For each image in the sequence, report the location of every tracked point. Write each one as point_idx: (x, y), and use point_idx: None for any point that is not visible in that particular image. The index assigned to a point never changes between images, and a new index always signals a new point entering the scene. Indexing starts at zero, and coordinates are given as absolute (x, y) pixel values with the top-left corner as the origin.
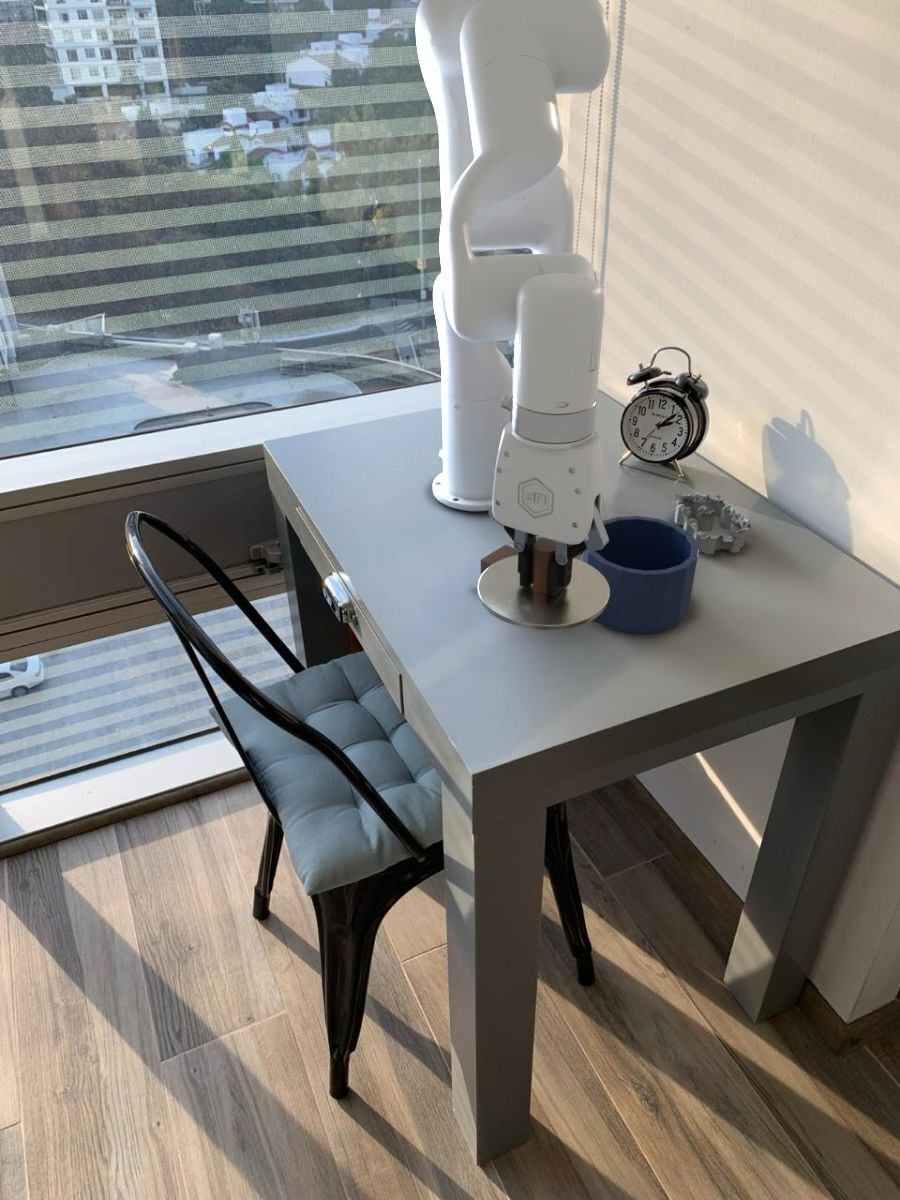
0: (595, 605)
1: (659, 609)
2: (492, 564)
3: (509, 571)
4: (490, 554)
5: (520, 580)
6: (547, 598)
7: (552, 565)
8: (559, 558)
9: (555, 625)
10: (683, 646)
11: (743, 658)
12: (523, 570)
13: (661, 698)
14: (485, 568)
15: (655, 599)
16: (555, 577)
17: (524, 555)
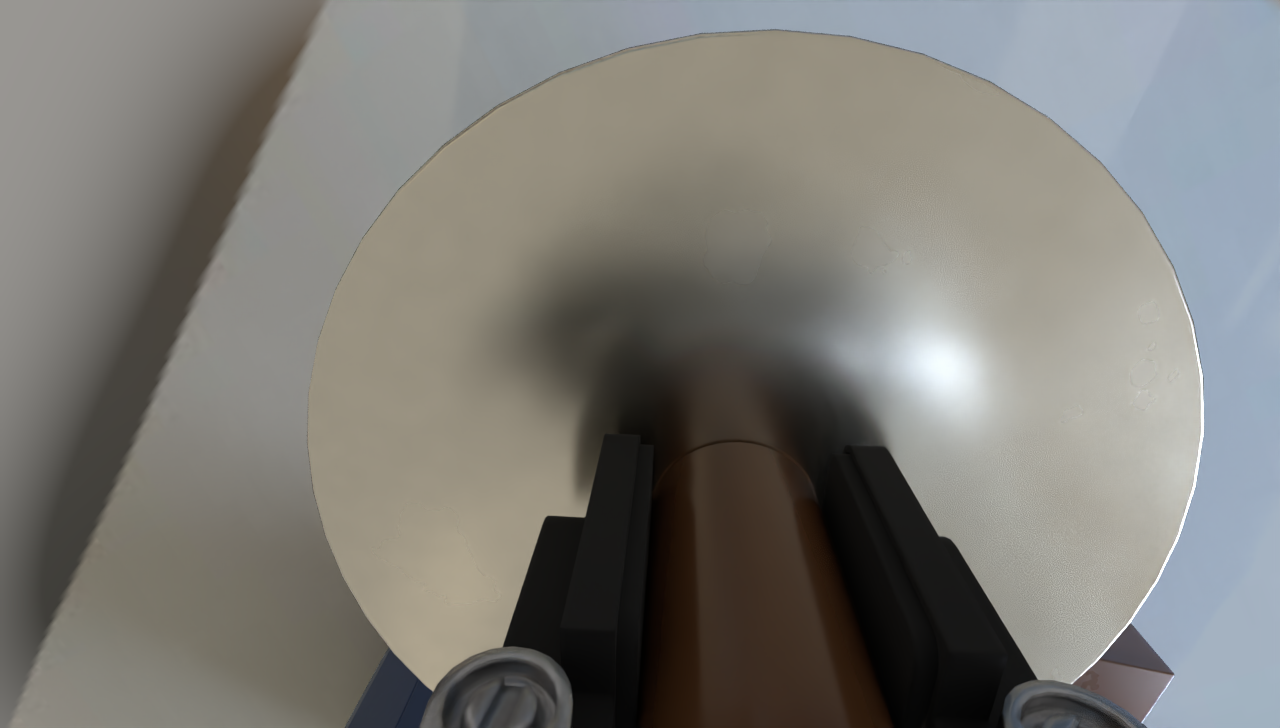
0: (358, 480)
1: (381, 674)
2: (1105, 663)
3: (1012, 568)
4: (1139, 719)
5: (890, 465)
6: (651, 414)
7: (604, 615)
8: (520, 711)
9: (444, 147)
10: (322, 576)
11: (160, 597)
12: (898, 524)
13: (232, 314)
14: (1122, 639)
15: (376, 706)
16: (582, 531)
17: (956, 647)
